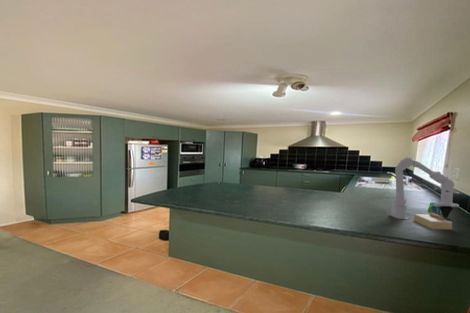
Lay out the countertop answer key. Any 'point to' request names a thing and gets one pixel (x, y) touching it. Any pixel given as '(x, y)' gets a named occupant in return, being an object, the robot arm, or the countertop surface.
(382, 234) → the countertop surface
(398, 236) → the countertop surface
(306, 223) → the countertop surface
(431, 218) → the mailer lid
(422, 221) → the mailer box
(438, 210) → the snack cup
